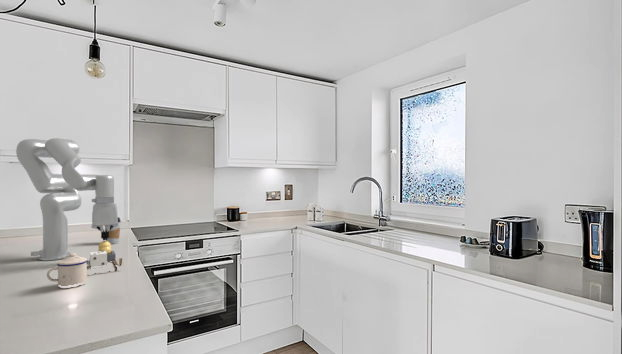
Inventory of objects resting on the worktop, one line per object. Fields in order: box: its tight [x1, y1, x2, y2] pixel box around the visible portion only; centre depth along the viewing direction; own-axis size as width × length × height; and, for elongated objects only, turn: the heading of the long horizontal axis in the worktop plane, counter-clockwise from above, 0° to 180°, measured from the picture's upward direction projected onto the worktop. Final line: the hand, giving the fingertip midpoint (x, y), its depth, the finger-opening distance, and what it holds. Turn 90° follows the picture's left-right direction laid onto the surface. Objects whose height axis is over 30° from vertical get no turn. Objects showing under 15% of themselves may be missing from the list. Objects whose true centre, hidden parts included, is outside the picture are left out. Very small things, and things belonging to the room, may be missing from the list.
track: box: [112, 257, 123, 266], centre depth 143 cm, size 17×19×3 cm
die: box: [89, 251, 108, 268], centre depth 147 cm, size 6×6×6 cm
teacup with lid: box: [46, 252, 88, 286], centre depth 121 cm, size 12×9×12 cm
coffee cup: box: [104, 217, 121, 245], centre depth 194 cm, size 8×8×15 cm
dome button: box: [97, 240, 112, 254], centre depth 156 cm, size 5×5×6 cm
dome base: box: [107, 250, 116, 261], centre depth 156 cm, size 8×8×3 cm
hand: (105, 239), depth 156 cm, fingers closed
